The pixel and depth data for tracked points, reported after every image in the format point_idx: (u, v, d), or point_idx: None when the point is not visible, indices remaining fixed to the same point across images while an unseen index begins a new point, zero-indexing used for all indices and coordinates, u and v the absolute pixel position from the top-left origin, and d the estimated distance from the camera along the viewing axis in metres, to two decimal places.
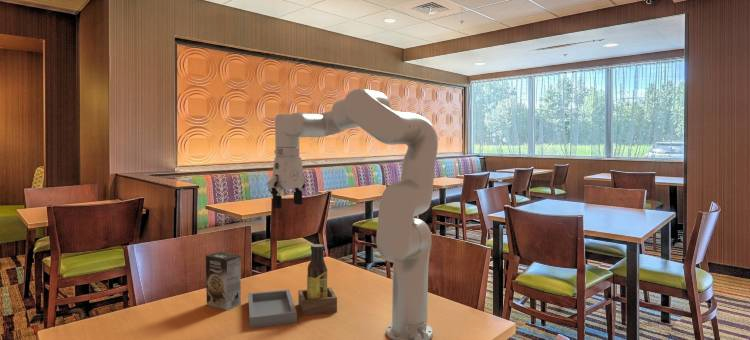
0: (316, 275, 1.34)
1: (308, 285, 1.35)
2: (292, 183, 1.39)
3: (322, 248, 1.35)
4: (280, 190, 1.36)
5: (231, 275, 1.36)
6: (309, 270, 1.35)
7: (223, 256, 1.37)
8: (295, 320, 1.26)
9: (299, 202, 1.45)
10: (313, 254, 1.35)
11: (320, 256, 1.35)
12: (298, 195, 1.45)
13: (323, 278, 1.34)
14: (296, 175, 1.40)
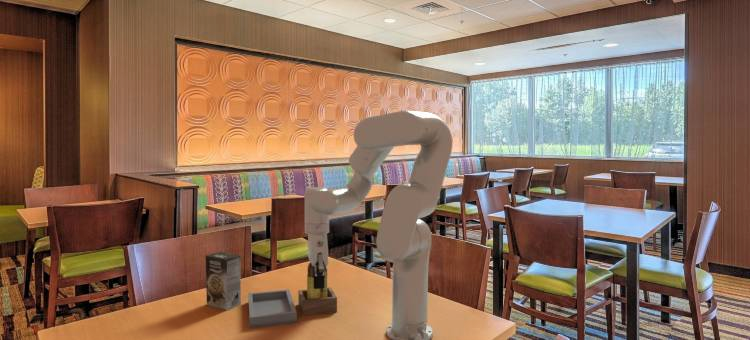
0: None
1: (308, 285, 1.35)
2: None
3: None
4: None
5: (231, 275, 1.36)
6: (309, 270, 1.34)
7: (223, 256, 1.37)
8: (295, 320, 1.26)
9: None
10: None
11: None
12: None
13: None
14: None
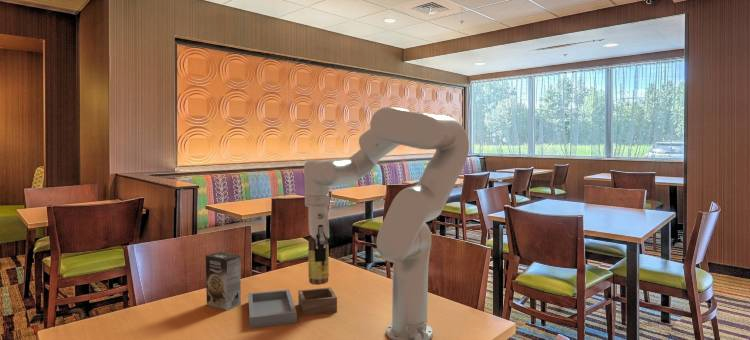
0: None
1: (309, 259, 1.34)
2: None
3: None
4: (324, 241, 1.32)
5: (231, 275, 1.36)
6: (310, 243, 1.34)
7: (223, 256, 1.37)
8: (295, 320, 1.26)
9: None
10: None
11: None
12: None
13: None
14: None
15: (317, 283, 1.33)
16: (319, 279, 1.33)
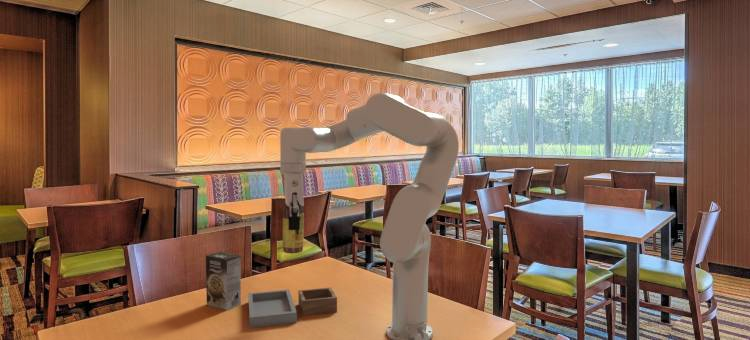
0: None
1: (283, 227, 1.32)
2: None
3: None
4: (298, 210, 1.30)
5: (231, 275, 1.36)
6: (284, 212, 1.32)
7: (223, 256, 1.37)
8: (295, 320, 1.26)
9: None
10: None
11: None
12: None
13: None
14: None
15: (290, 252, 1.31)
16: (293, 248, 1.31)
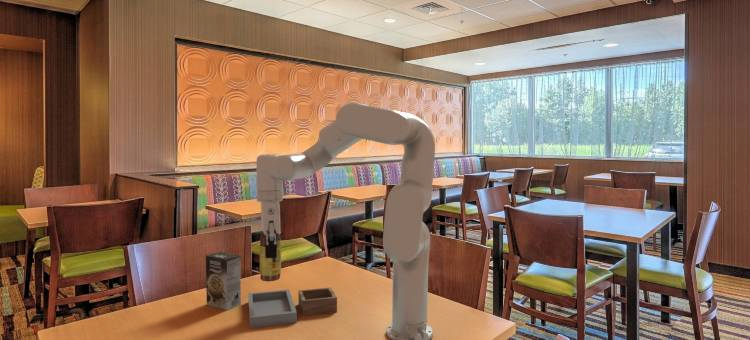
0: None
1: (260, 255, 1.31)
2: None
3: None
4: (275, 238, 1.29)
5: (231, 275, 1.36)
6: (261, 239, 1.31)
7: (223, 256, 1.37)
8: (295, 320, 1.26)
9: None
10: None
11: None
12: None
13: None
14: None
15: (267, 280, 1.30)
16: (270, 276, 1.30)
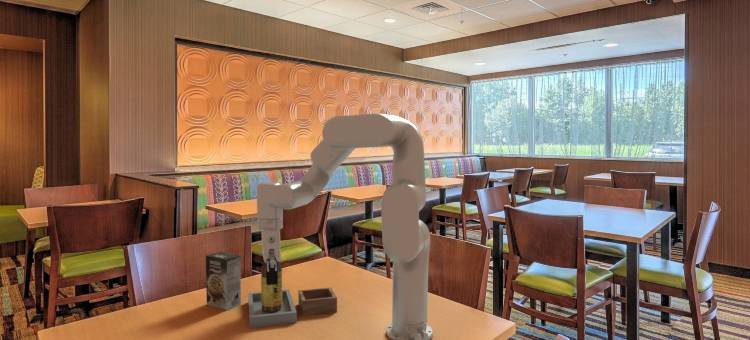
0: None
1: (262, 285, 1.32)
2: None
3: None
4: (276, 264, 1.29)
5: (231, 275, 1.36)
6: (262, 270, 1.31)
7: (223, 256, 1.37)
8: (295, 320, 1.26)
9: None
10: None
11: None
12: None
13: None
14: None
15: (269, 311, 1.31)
16: (271, 307, 1.31)
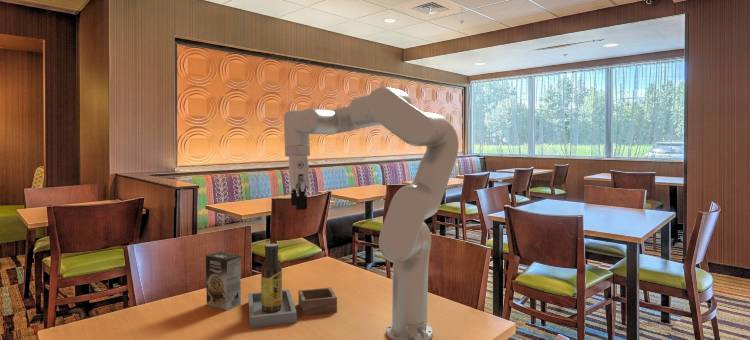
0: (269, 275, 1.31)
1: (262, 285, 1.32)
2: None
3: (276, 248, 1.32)
4: (305, 190, 1.30)
5: (231, 275, 1.36)
6: (262, 270, 1.31)
7: (223, 256, 1.37)
8: (295, 320, 1.26)
9: None
10: (266, 253, 1.32)
11: (274, 256, 1.32)
12: None
13: (277, 278, 1.31)
14: None
15: (269, 311, 1.31)
16: (271, 307, 1.31)
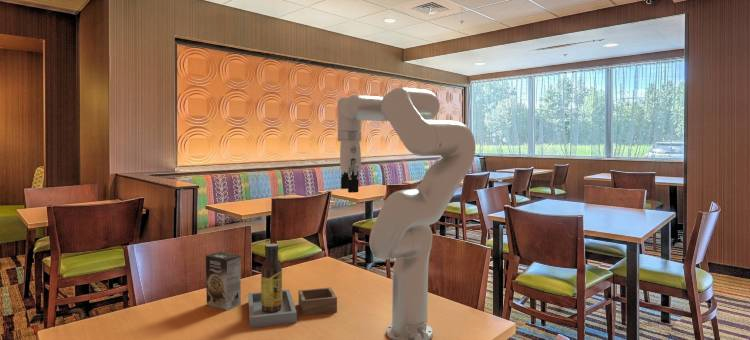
0: (269, 275, 1.31)
1: (262, 285, 1.32)
2: None
3: (276, 248, 1.32)
4: None
5: (231, 275, 1.36)
6: (262, 270, 1.31)
7: (223, 256, 1.37)
8: (295, 320, 1.26)
9: None
10: (266, 253, 1.32)
11: (274, 256, 1.32)
12: (347, 179, 1.45)
13: (277, 278, 1.31)
14: None
15: (269, 311, 1.31)
16: (271, 307, 1.31)
